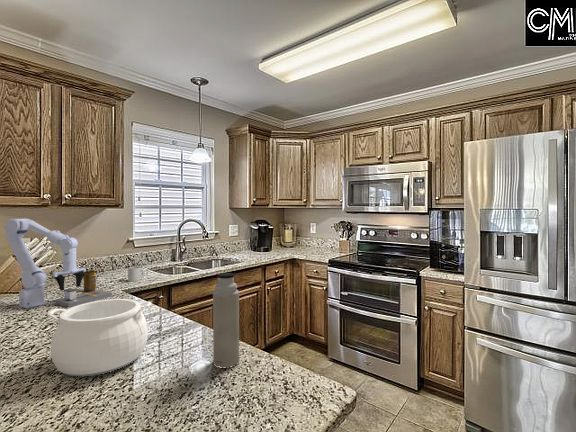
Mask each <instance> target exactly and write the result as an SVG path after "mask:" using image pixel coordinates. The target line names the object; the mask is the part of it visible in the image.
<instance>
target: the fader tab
mask: <svg viewBox="0 0 576 432" xmlns="http://www.w3.org/2000/svg"><path fill="white" fill-rule="evenodd" d="M63 291H64V293H63V294H64V299H67V300H73V299H76V295H77V289H75V288H67V289H65V288H64V290H63Z"/></svg>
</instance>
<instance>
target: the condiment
mask: <svg viewBox="0 0 576 432" xmlns="http://www.w3.org/2000/svg"><path fill="white" fill-rule="evenodd" d="M95 271H96V270H94V269H86V272H84V273H85V275H84V277H83V289H82V290H81V292H82V294H84V293H88V292H92V291H97V290H98V289H97V279H96V278H97V275H96V272H95Z"/></svg>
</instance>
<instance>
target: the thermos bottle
mask: <svg viewBox="0 0 576 432" xmlns="http://www.w3.org/2000/svg"><path fill="white" fill-rule="evenodd" d="M217 277H218V279H217V283H216V284H215V285H214V291H213V292H212V327H213V328H212V333H213V334H212V336H213V337H212V340H213V341H212V342H213V344H212V345H213V346H212V348H213V350H212V353H213V357H212V358H213V363H214V364H215V365H216V366H220V367H229V366H232V365H235V364H237V363H238V362H240V290H238V289H237V288H238V285H237V283H235V279H234V277H235V273H232V272H223V273H219V274H218V275H217ZM214 364H213V365H214ZM238 364H239V363H238ZM238 364H237V365H238Z"/></svg>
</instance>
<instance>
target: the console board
mask: <svg viewBox="0 0 576 432" xmlns="http://www.w3.org/2000/svg"><path fill="white" fill-rule="evenodd" d="M112 296H113V294H112V292H111V291H110V292H109V291H106V290H100V289H97V291H92V292H88V293H80V294H76V299H73V300H67V299H64V298H58V299H55V301H54V304H55V305H57V306H61V307H64V308H65V307H66V308H72V307H74V306H77V305H81V304H85V303H89V302H95V301H100V300H104V299H107V298H110V297H112ZM106 297H107V298H106ZM99 299H100V300H99Z"/></svg>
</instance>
